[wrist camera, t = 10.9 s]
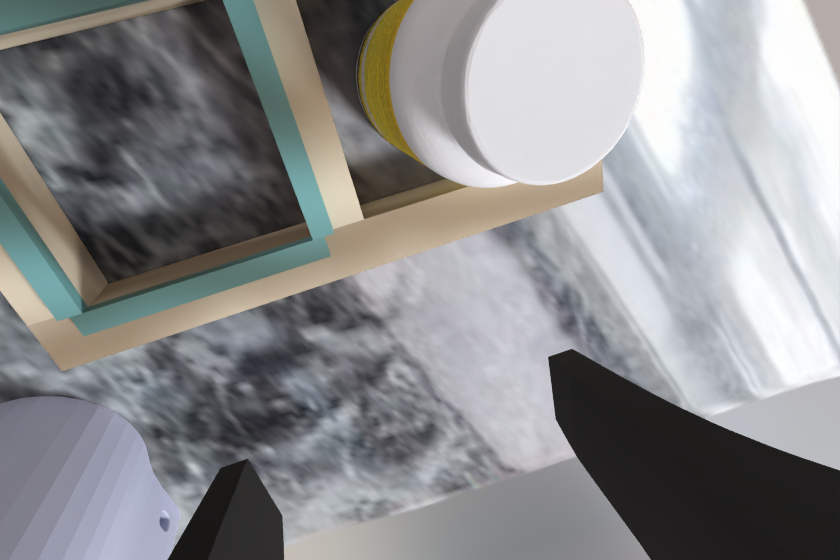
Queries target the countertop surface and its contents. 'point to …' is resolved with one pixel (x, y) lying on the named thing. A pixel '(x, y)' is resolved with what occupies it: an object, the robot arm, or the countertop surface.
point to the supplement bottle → (502, 85)
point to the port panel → (246, 261)
